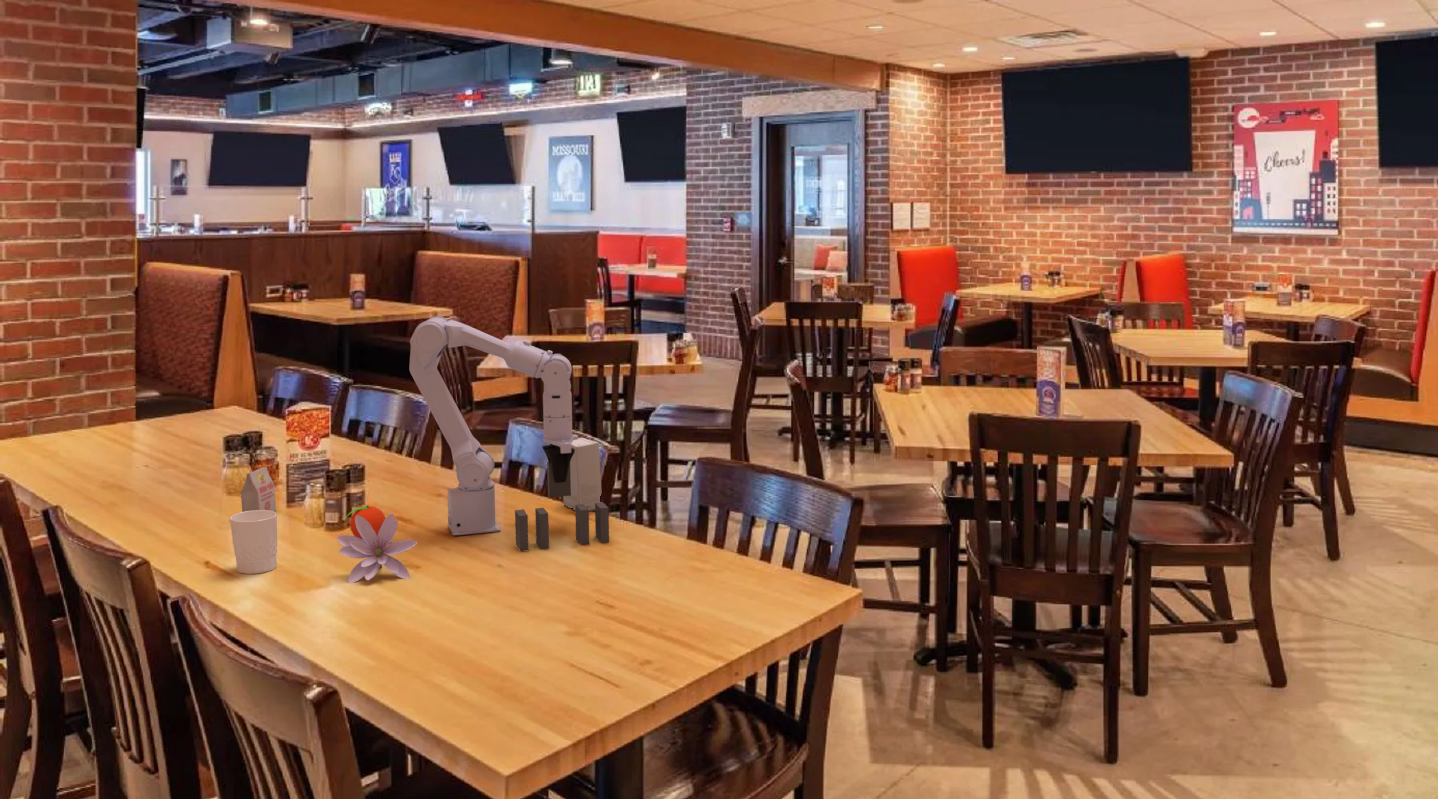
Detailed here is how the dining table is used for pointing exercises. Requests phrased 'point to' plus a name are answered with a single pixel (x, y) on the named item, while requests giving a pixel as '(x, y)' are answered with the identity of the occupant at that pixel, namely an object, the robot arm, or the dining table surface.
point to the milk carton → (258, 491)
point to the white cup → (255, 540)
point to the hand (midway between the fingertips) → (559, 480)
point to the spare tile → (558, 484)
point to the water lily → (375, 549)
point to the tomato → (371, 515)
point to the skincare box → (584, 474)
